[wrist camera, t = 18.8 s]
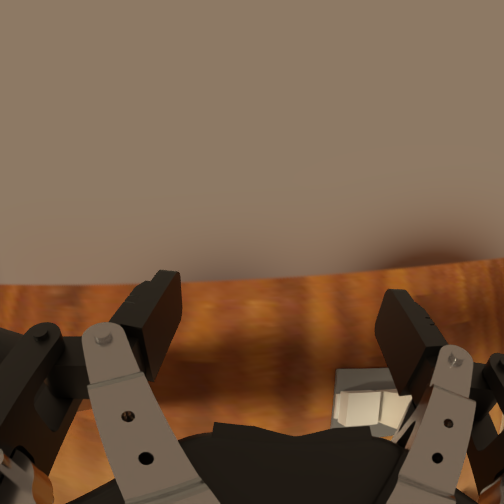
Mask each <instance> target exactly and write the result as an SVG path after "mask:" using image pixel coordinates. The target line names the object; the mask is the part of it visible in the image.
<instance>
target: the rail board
mask: <svg viewBox="0 0 504 504" xmlns="http://www.w3.org/2000/svg"><path fill="white" fill-rule="evenodd" d="M386 389H396V387H395V384H394V381H393V379H392V376H391V373H390V371H389V368H368V369H336V375H335V388H334V399H333V409H332V418H331V427H330V429H332V428H343V427H359V426H370V430H371V434H372V436H375V437H384V436H391V435H394V434H395V432H396V430H397V429H395V428H392V427H390V426H387V425H385V424H382V423H379V422H378V415H379V406H380V395H381V392H379V391H376V390H386Z"/></svg>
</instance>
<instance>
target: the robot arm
mask: <svg viewBox="0 0 504 504" xmlns="http://www.w3.org/2000/svg"><path fill="white" fill-rule="evenodd" d="M181 316H182V296H181V280H180V273H179V272H177V271H167V270H159V271H158V272H157V273H156V275H155V276H154V278H153V279H152V280H151V281H144V282H143V283H141V284H139V285H138V286H136V287H135V288H134V289H133V291H132V292H131V293H130V296H128V297H127V298H126V300H125V302H123V304H122V305H121V306H120V307H119V309H118V310H117V311H116V313H115V314H114V315H113V317H112V318H111V319H110V321H109V322H103V323H98V324H95V325H93V326H91V327H89V328H88V329H87V330H86V331H85V332H84V333H83V335H82V336H81V337H62V334H61V331H60V329H59V327H58V326H57V325H56V324H53V323H49V322H45V323H40V324H37V325H35V326H33V327H31V328H30V329H29V330H28V331H27V332H26V333H25V334H24V335H22V334H19V333H16V332H13V331H9V330H6V329H3V328H0V504H53V503H54V496H53V486H52V483H51V481H50V479H49V478H48V476H49V473H50V471H51V468H52V466H53V464H54V461H55V459H56V456H57V454H58V452H59V449H60V447H61V445H62V443H63V440H64V438H65V436H66V434H67V431H68V429H69V427H70V425H71V423H72V421H73V419H74V417H75V414H76V412H78V411H84V410H89V409H93V413H94V417H95V420H96V424H97V427H98V431H99V434H100V437H101V440H102V443H103V446H104V449H105V452H106V455H107V458H108V461H109V464H110V466H111V469H112V471H113V474H114V477H115V479H113V480H111V481H109V482H107V483H106V484H104V485H102V486H100V487H98V488H96V489H94V490H93V491H91V492H89V493H87V494H85V495H83V496H81V497H79V498H77V499H75V500H72V501H70V502H68V503H66V504H504V429H503V430H502V432H501V433H500V434H499V435H498V434H497V431H496V429H495V427H494V424H493V422H492V420H491V417H490V415H489V411H490V410H491V409H492V408H493V407H494V405H495V404H496V403H498V405H499V407H500V409H501V411H502V413H503V415H504V354H500V353H494V354H492V355H491V357H490V358H489V360H488V362H487V363H486V364H481V363H475V362H473V359H472V357H471V356H470V354H469V353H468V352H467V351H466V350H464V349H463V348H461V347H459V346H456V345H448V343H447V342H446V340H445V339H444V337H443V335H442V334H441V332H440V331H439V329H438V328H437V327H436V325H434V322H433V321H432V319H430V316H429V315H428V313H427V312H426V311H425V309H424V308H422V307H421V306H420V305H418V304H417V303H416V302H414V300H413V299H412V298H411V296H410V295H409V293H408V292H407V291H406V290H399V289H388V290H387V291H386V292H385V295H384V298H383V301H382V304H381V307H380V310H379V313H378V316H377V319H376V323H375V336H376V339H377V341H378V343H379V346H380V348H381V351H382V353H383V356H384V358H385V361H386V363H387V366H388V368H389V371H390V373H391V376H392V379H393V381H394V384H395V387H396V389H397V392H398V395H399V396H406V395H411V396H412V399H411V401H410V402H409V404H408V406H407V409H406V411H405V413H404V415H403V417H402V420H401V422H400V424H399V426H398V428H397V430H396V432H395V434H394V436H393V438H392V440H391V441H389V440H386V439H383V438H379V437H375V436H372V434H371V430H370V426H359V427H343V428H332V429H328V430H324V431H320V432H316V433H312V434H307V435H303V436H289V435H285V434H281V433H277V432H273V431H269V430H266V429H262V428H259V427H255V426H245V425H235V424H226V423H218V422H214V426H213V432H210V433H202V434H196V435H192V436H188V437H185V438H183V439H180V440H178V441H177V439H176V437H175V435H174V433H173V432H172V430H171V428H170V426H169V424H168V422H167V420H166V419H165V417H164V415H163V413H162V411H161V409H160V407H159V405H158V403H157V401H156V399H155V397H154V394H153V392H152V390H151V388H150V386H149V384H148V382H147V381H152V382H154V380H155V378H156V376H157V373H158V371H159V369H160V366H161V364H162V362H163V359H164V357H165V355H166V353H167V350H168V348H169V346H170V343H171V341H172V339H173V337H174V334H175V332H176V330H177V328H178V325H179V323H180V321H181ZM466 452H467V455H468V458H469V461H470V465H471V468H472V472H473V475H474V479H475V483H476V487H477V491H478V495H479V499H478V503H477V502H475V501H474V500H472V499H471V498H470V497H468V496H467V495H465V494H464V493H462V492H461V491H460V490H458V489H457V488H456V486H457V483H458V480H459V476H460V473H461V470H462V466H463V463H464V459H465V456H466Z"/></svg>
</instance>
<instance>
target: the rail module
mask: <svg viewBox="0 0 504 504" xmlns="http://www.w3.org/2000/svg"><path fill="white" fill-rule="evenodd" d="M376 391H379V392H381V395H380V406H379V415H378V422H379V423H382V424H385V425H387V426H390V427H392V428H395V429H397V428H398V426H399V424H400V422H401V420H402V417H403V415H404V413H405V411H406V409H407V406H408V404H409V402H410V401H411V399H412V396H411V395H406V396H399V395H398V392H397V389H386V390H376Z"/></svg>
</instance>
